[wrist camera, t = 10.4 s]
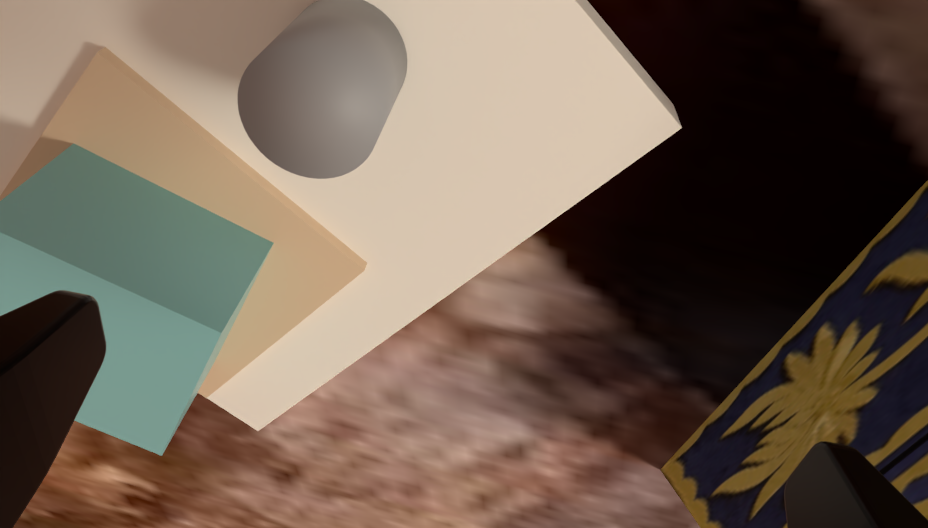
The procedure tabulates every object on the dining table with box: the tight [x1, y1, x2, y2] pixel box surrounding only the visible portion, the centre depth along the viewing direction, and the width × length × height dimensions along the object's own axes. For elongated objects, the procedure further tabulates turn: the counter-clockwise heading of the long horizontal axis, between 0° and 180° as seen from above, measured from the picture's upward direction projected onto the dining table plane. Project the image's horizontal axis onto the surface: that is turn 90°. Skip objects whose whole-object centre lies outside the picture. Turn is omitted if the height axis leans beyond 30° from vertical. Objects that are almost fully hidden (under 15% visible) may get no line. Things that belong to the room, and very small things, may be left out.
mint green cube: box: [0, 143, 274, 456], centre depth 19 cm, size 6×6×4 cm
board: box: [0, 0, 682, 431], centre depth 18 cm, size 19×14×5 cm
